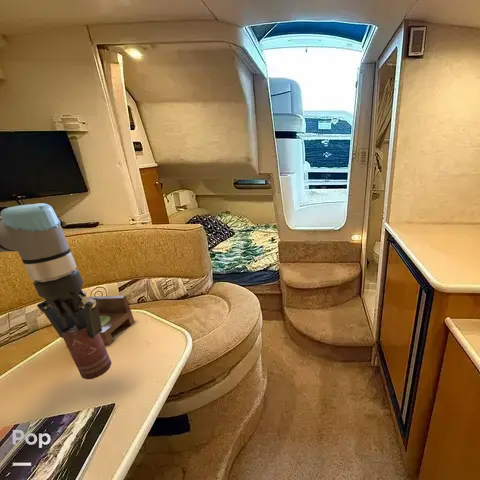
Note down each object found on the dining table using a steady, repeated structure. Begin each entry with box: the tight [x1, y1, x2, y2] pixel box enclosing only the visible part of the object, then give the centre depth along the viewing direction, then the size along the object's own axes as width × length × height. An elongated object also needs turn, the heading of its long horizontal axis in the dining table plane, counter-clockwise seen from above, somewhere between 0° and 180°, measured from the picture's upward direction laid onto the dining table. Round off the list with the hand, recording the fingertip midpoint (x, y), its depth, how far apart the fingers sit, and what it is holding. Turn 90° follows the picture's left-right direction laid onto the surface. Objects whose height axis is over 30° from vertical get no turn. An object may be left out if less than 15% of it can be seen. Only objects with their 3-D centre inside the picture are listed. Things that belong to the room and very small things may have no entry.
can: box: [62, 325, 112, 380], centre depth 66 cm, size 6×6×14 cm
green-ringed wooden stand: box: [87, 295, 136, 347], centre depth 91 cm, size 14×12×12 cm
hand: (92, 358), depth 67 cm, fingers closed on can
